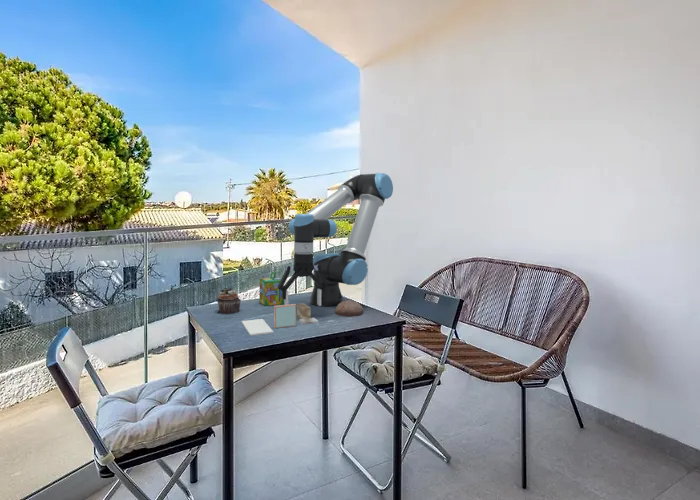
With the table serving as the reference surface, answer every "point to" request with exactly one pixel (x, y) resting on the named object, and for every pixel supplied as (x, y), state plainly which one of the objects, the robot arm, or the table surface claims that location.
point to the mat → (257, 327)
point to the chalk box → (270, 291)
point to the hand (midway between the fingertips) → (303, 306)
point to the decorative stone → (349, 308)
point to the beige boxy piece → (305, 314)
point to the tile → (284, 316)
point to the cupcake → (228, 301)
